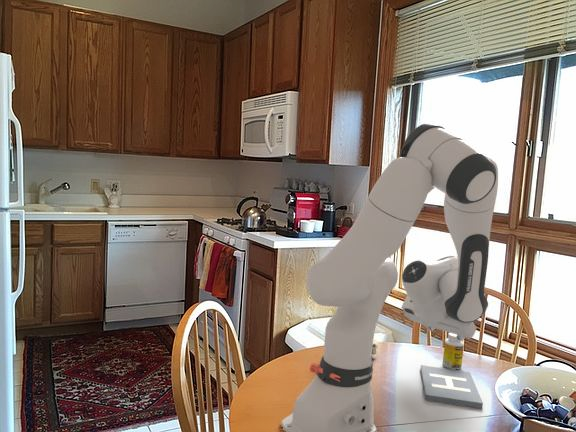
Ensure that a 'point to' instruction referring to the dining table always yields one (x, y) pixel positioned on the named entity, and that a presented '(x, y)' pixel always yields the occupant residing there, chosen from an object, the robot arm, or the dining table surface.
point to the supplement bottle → (453, 352)
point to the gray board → (450, 387)
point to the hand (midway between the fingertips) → (446, 333)
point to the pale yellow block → (374, 347)
